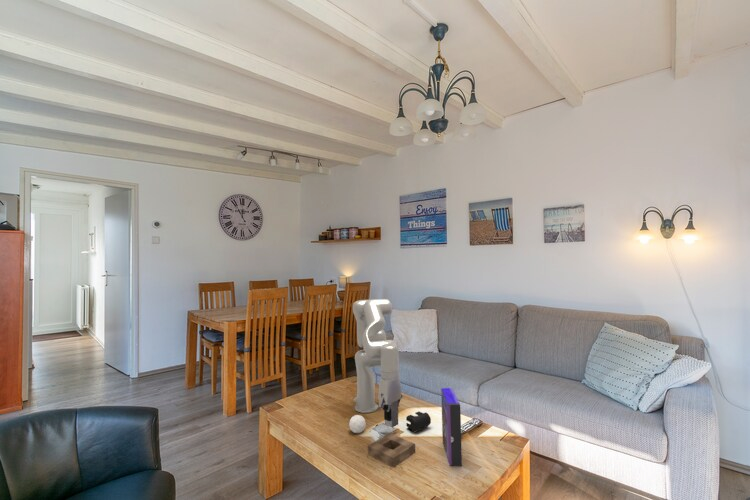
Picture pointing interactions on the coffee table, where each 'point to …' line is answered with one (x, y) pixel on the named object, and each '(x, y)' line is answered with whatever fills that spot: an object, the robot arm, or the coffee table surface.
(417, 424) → the end cap
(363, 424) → the geometric ball
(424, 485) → the coffee table surface
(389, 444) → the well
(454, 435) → the cereal box
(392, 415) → the grey rectangular block
